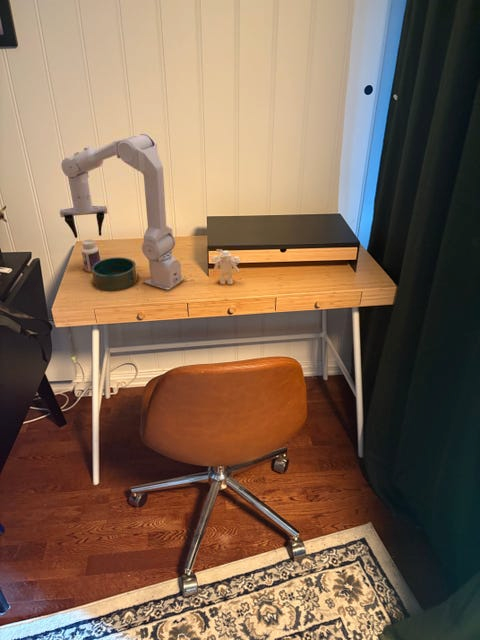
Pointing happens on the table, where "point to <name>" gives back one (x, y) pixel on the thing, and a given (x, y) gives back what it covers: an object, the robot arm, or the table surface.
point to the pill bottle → (90, 254)
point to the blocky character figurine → (225, 265)
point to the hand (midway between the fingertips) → (88, 235)
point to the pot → (114, 273)
